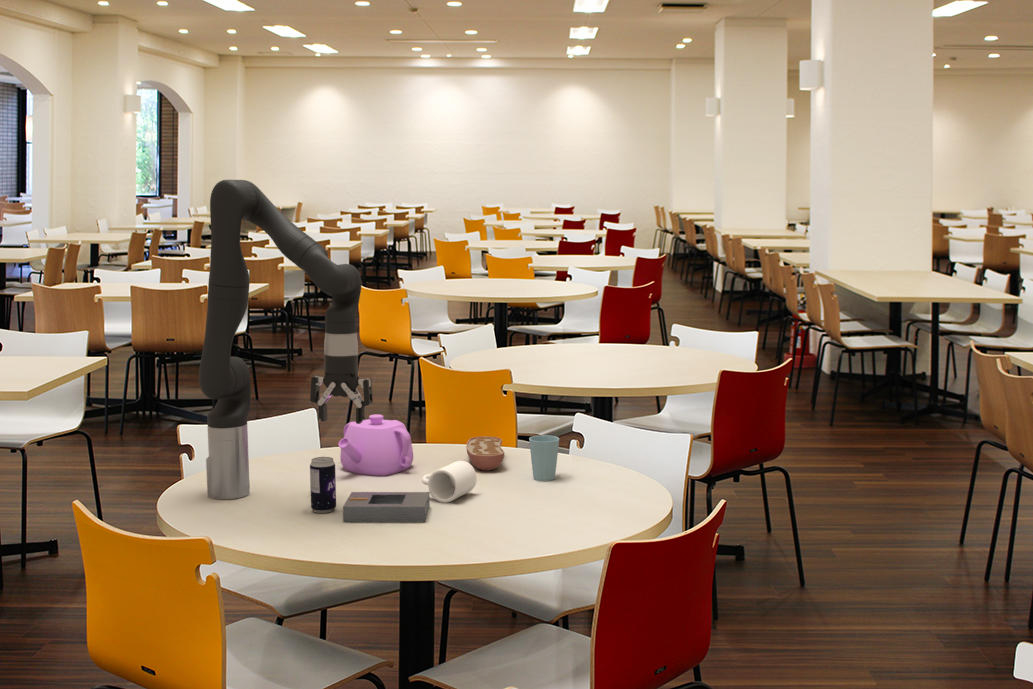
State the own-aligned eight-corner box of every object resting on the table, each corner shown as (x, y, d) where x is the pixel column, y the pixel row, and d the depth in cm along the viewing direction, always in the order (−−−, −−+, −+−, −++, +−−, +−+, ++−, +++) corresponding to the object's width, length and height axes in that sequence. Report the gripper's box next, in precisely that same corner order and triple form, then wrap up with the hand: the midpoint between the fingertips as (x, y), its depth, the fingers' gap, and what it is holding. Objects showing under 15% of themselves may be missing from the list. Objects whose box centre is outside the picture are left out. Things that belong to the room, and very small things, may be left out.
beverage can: (330, 514, 241) (329, 462, 239) (307, 513, 242) (305, 461, 241) (339, 507, 247) (338, 456, 245) (316, 506, 248) (315, 455, 246)
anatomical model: (505, 474, 278) (505, 455, 277) (466, 474, 277) (466, 455, 276) (501, 453, 300) (501, 436, 300) (465, 453, 300) (465, 436, 299)
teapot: (412, 458, 294) (411, 407, 292) (414, 478, 273) (413, 423, 271) (342, 461, 292) (340, 409, 290) (339, 480, 271) (337, 425, 269)
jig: (343, 522, 235) (342, 505, 235) (351, 506, 247) (351, 491, 247) (424, 522, 235) (424, 505, 235) (429, 506, 247) (429, 491, 247)
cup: (533, 482, 268) (533, 442, 267) (525, 475, 276) (525, 435, 274) (562, 481, 270) (562, 440, 269) (554, 473, 277) (554, 434, 276)
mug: (477, 494, 258) (477, 462, 257) (457, 504, 249) (457, 471, 248) (433, 488, 263) (433, 457, 262) (413, 499, 254) (412, 466, 253)
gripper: (305, 353, 241) (306, 423, 243) (365, 356, 238) (365, 427, 240) (317, 348, 248) (318, 417, 250) (376, 351, 245) (376, 420, 247)
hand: (341, 422), depth 245 cm, fingers open, 8 cm apart
